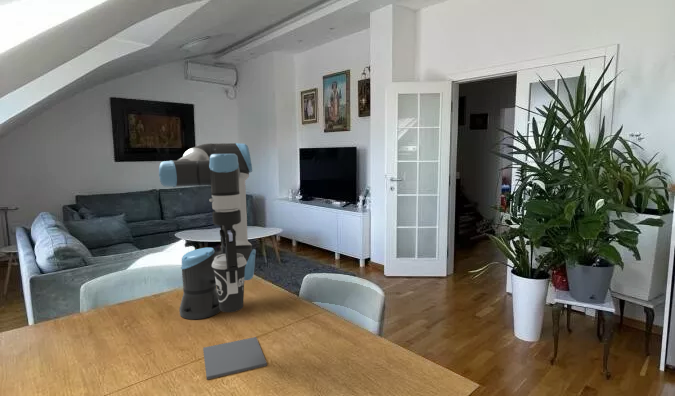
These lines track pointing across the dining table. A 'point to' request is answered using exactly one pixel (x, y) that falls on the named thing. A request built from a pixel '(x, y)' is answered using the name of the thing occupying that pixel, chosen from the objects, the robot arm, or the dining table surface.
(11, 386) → the dining table surface
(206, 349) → the mat
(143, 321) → the dining table surface
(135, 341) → the dining table surface
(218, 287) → the coffee cup
